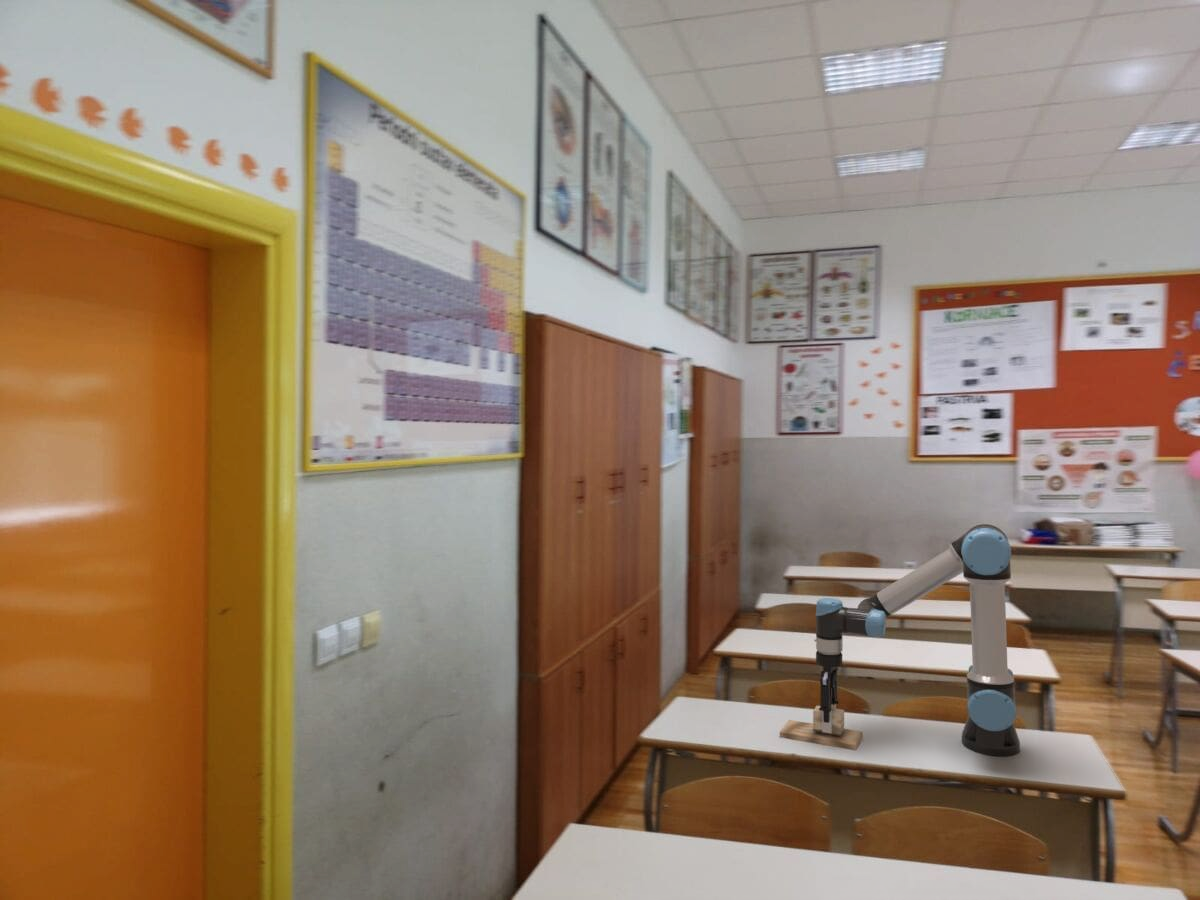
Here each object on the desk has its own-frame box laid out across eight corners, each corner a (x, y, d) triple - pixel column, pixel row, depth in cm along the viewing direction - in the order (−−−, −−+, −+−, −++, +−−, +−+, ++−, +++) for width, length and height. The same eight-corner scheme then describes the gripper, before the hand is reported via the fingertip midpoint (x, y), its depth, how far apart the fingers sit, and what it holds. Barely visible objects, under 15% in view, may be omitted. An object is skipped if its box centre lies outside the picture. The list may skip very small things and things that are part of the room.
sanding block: (844, 729, 237) (844, 709, 236) (840, 735, 232) (840, 715, 232) (816, 725, 240) (817, 705, 240) (813, 730, 236) (813, 710, 236)
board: (862, 736, 237) (862, 731, 237) (855, 750, 227) (855, 744, 227) (789, 724, 247) (789, 719, 247) (779, 736, 238) (779, 731, 238)
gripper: (822, 642, 245) (822, 717, 246) (809, 657, 229) (809, 737, 230) (847, 645, 242) (847, 721, 242) (835, 661, 226) (835, 742, 226)
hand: (829, 728), depth 236 cm, fingers closed on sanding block, 5 cm apart
